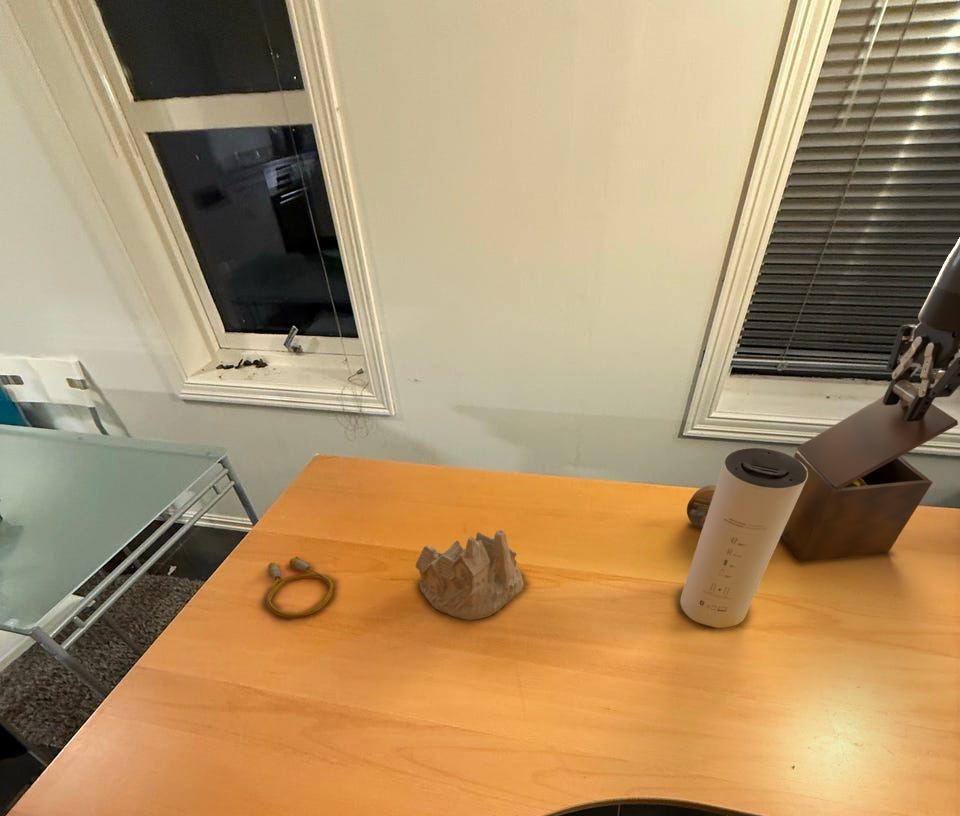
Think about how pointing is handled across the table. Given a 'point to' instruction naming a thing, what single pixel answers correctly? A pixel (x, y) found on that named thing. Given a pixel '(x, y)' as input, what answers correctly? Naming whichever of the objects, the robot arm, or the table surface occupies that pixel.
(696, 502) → the tin
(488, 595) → the ceramic cottage
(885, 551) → the chest
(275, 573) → the extension cord
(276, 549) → the table surface
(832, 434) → the lid
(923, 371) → the robot arm
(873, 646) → the table surface
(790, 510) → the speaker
